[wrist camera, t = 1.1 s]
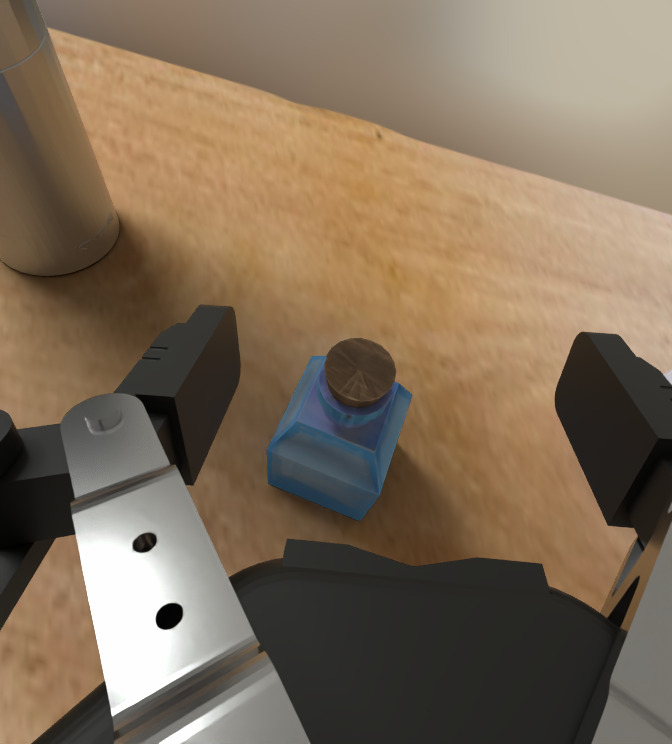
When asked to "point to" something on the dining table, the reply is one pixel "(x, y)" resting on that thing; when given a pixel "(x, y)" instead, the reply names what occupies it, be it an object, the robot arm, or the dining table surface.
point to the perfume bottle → (340, 429)
